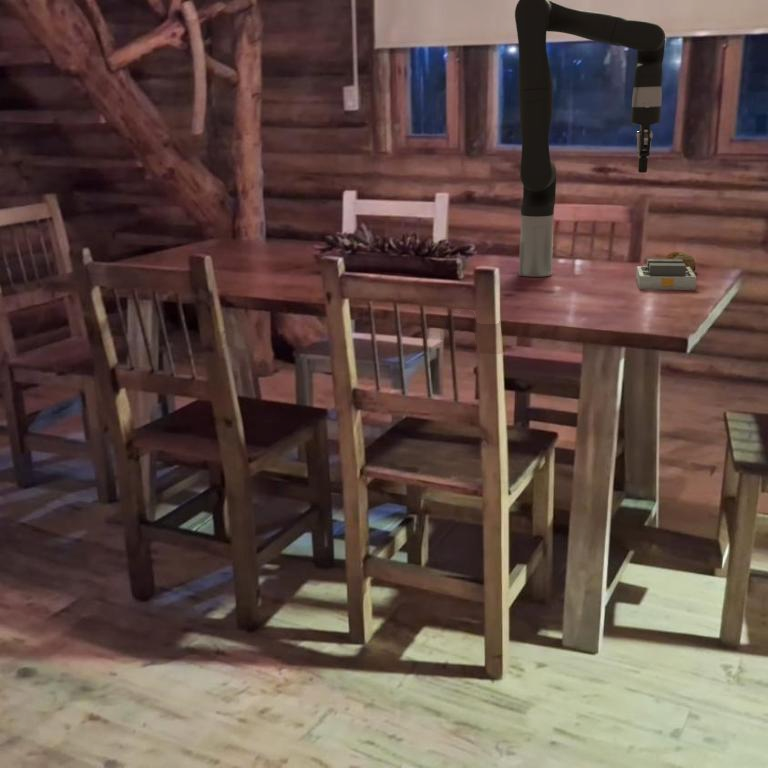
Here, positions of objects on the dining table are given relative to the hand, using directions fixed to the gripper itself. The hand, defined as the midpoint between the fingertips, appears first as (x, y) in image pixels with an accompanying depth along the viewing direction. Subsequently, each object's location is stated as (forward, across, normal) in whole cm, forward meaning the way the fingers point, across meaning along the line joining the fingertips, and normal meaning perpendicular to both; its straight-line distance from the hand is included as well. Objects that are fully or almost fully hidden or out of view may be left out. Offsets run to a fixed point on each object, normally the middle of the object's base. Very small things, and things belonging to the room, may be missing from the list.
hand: (642, 172), depth 236 cm
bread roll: (+29, -10, +12) cm, 33 cm away
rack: (+29, +8, +7) cm, 31 cm away
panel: (+28, +11, +7) cm, 31 cm away
